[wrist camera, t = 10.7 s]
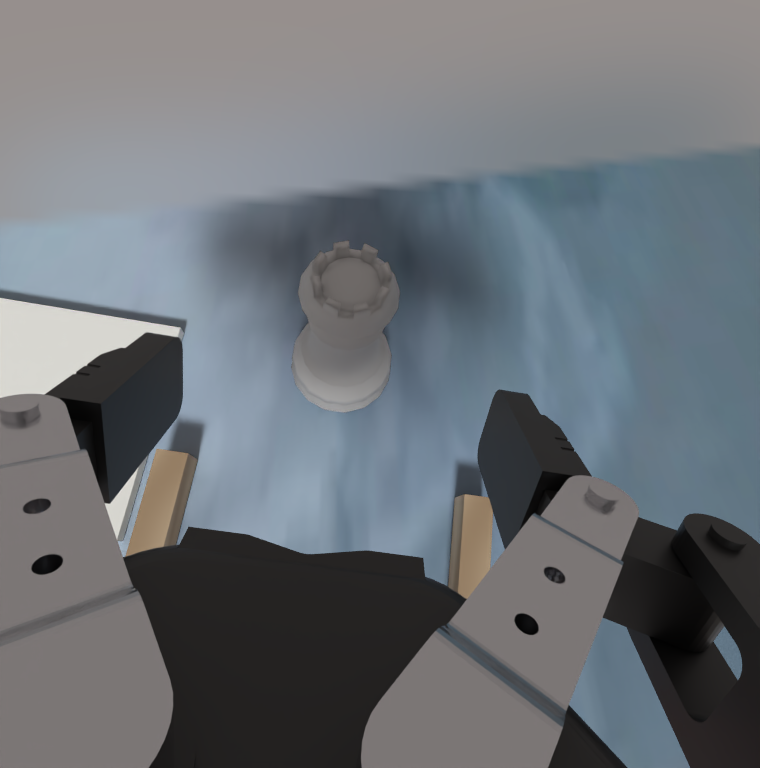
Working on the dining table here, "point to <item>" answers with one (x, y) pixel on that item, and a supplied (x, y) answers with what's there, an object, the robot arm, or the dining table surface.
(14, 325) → the tile
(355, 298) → the rook chess piece
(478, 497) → the wooden u-shaped frame
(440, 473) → the dining table surface
